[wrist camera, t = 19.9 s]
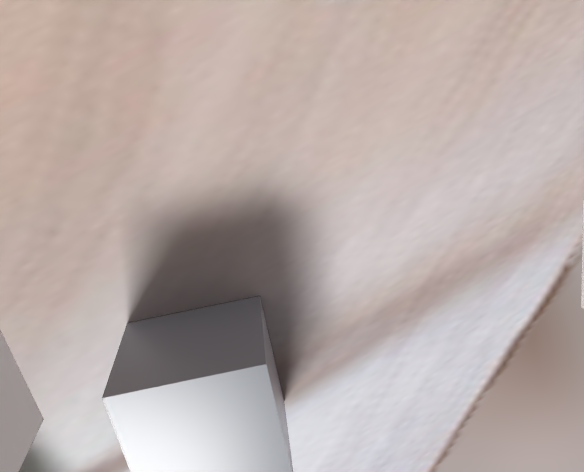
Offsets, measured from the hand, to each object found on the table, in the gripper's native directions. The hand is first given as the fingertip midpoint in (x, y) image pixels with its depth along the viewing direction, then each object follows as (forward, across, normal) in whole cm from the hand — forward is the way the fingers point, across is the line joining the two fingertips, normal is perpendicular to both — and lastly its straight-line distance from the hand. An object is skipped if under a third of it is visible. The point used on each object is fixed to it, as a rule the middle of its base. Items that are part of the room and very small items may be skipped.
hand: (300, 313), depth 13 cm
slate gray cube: (+26, -8, -19) cm, 33 cm away
